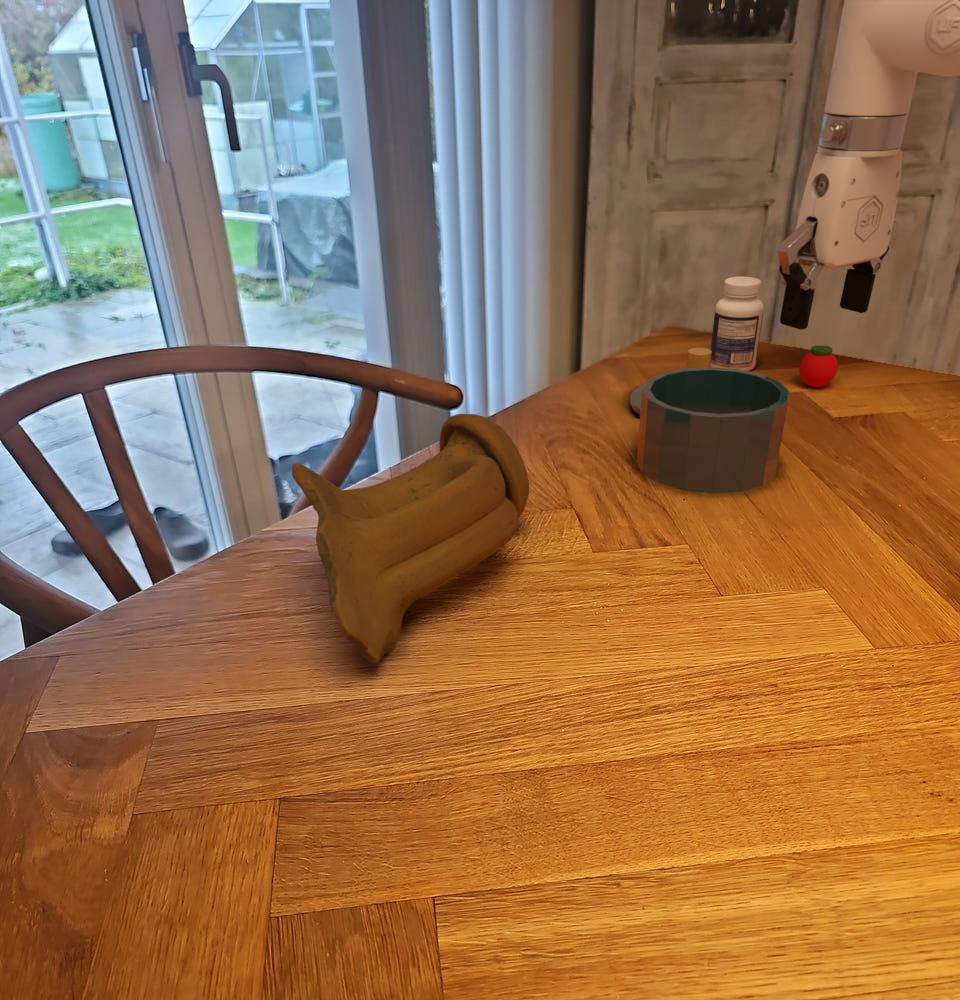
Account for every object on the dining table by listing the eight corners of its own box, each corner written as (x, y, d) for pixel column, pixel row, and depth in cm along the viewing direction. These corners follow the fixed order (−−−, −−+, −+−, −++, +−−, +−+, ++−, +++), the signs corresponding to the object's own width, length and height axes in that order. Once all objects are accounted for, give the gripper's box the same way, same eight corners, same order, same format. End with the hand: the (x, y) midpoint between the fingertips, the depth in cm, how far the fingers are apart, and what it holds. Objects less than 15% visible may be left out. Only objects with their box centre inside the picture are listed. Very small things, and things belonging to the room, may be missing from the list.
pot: (750, 439, 86) (761, 363, 82) (795, 494, 76) (811, 411, 72) (625, 447, 86) (630, 371, 82) (654, 503, 76) (661, 420, 72)
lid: (736, 384, 99) (743, 329, 96) (776, 429, 88) (787, 368, 85) (618, 391, 99) (622, 335, 95) (644, 437, 88) (649, 376, 84)
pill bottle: (719, 356, 107) (730, 272, 102) (762, 363, 105) (775, 277, 99) (701, 369, 104) (710, 282, 98) (744, 376, 101) (757, 288, 96)
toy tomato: (825, 379, 100) (832, 341, 97) (839, 391, 97) (847, 352, 94) (790, 381, 100) (797, 343, 97) (803, 393, 96) (810, 354, 94)
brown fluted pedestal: (189, 492, 63) (428, 373, 72) (270, 642, 69) (482, 515, 78) (282, 507, 48) (569, 354, 57) (375, 698, 54) (625, 531, 62)
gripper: (834, 147, 78) (797, 342, 88) (950, 131, 85) (904, 311, 95) (768, 139, 83) (740, 324, 93) (883, 124, 90) (846, 297, 100)
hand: (823, 318), depth 94 cm, fingers open, 9 cm apart
